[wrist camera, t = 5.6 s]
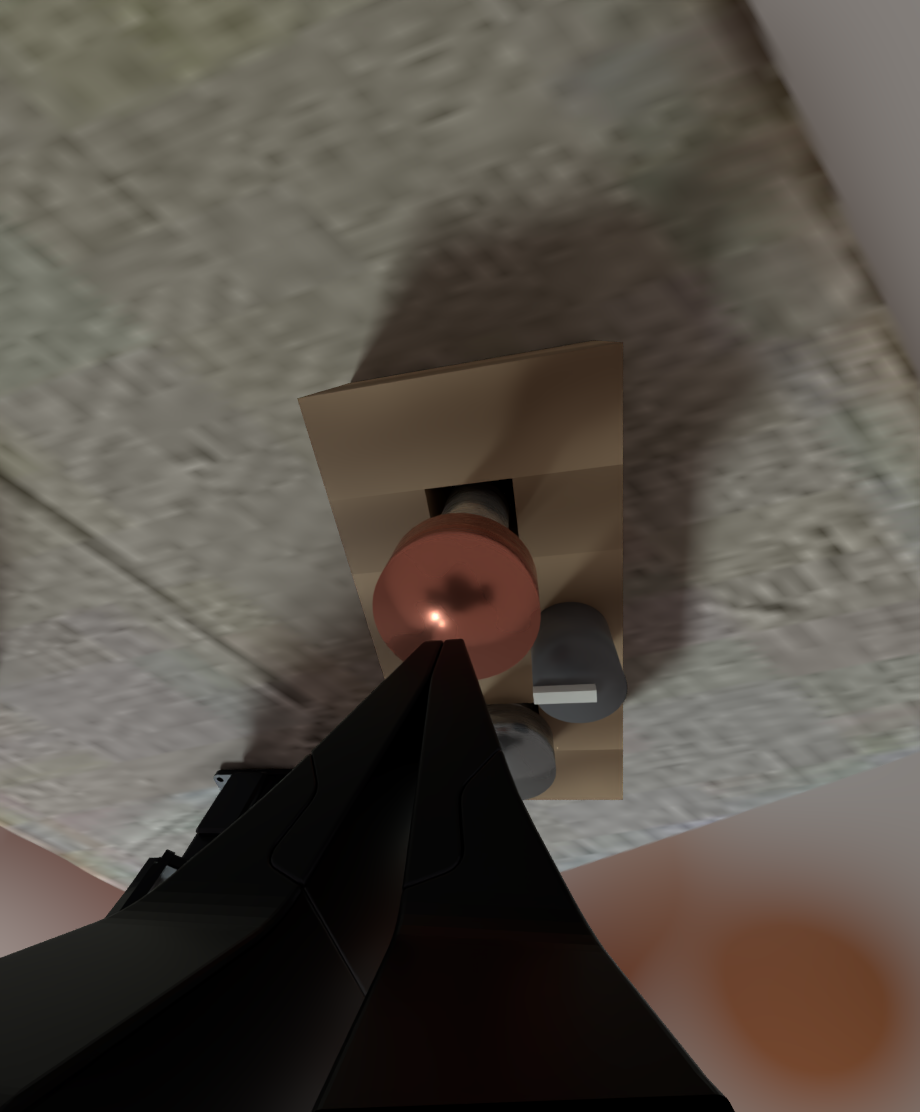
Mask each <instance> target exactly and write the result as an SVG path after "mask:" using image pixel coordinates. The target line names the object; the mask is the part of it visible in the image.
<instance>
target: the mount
mask: <svg viewBox="0 0 920 1112" xmlns="http://www.w3.org/2000/svg"><path fill="white" fill-rule="evenodd" d="M298 402H299V405H300V409H301V412H302V415H303V418H304V421H305V425H306V428H307V431H308V434H309V438H310V441H311V444H312V447H313V450H314V454H315V457H316V460H317V463H318V467H319V470H320V473H321V476H322V479H323V483H324V486H325V489H326V492H327V496H328V499H329V502H330V505H331V508H332V512H333V515H334V518H335V521H336V525H337V528H338V531H339V534H340V537H341V541H342V544H343V547H344V550H345V553H346V557H347V560H348V563H349V566H350V570H351V573H352V576H353V579H354V582H355V586H356V589H357V592H358V595H359V599H360V602H361V605H362V608H363V611H364V615H365V618H366V621H367V624H368V628H369V631H370V634H371V637H372V640H373V644H374V647H375V650H376V653H377V656H378V660H379V663H380V666H381V669H382V673H383V676H384V679H386V678H387V677H388V676H389V675H390V674H391V673H392V672H393V671H394V670H395V669H396V668H397V667H398V666H399V665H400V664H401V663H402V662H403V661H402V660H401V659H400V658H399V657H397V656H396V655H395V654H394V653H393V652H392V651H391V650H390V648H389V647H388V646H387V645H386V643H385V642H384V641H383V639H382V637H381V635H380V634H379V632H378V629H377V627H376V624H375V621H374V616H373V607H372V602H373V594H374V590H375V586H376V584H377V581H378V579H379V577H380V575H381V573H382V571H383V570H384V568H385V566H386V564H387V562H388V561H389V559H390V557H391V555H392V553H393V552H394V550H395V548H396V546H397V545H398V543H399V542H400V540H401V539H402V538H403V537H404V535H405V534H406V533H407V532H408V531H410V530H411V529H412V528H413V527H415V526H416V525H418V524H419V523H421V522H423V521H425V520H427V519H429V518H432V517H435V516H438V515H441V514H442V512H443V509H444V507H445V504H446V502H447V499H448V497H449V495H450V493H451V491H452V490H451V486H454V485H462V484H470V483H478V482H486V481H494V480H501V479H509V478H512V481H513V490H514V498H515V507H516V510H509V525H508V529H509V530H511V531H512V532H513V533H514V534H515V535H517V536H518V538H519V539H520V540H521V541H522V542H523V543H524V545H525V546H526V547H527V549H528V550H529V552H530V554H531V556H532V558H533V561H534V564H535V567H536V572H537V579H538V590H539V600H540V611H541V612H542V611H543V610H545V609H546V608H548V607H550V606H552V605H555V604H558V603H563V602H579V603H583V604H587V605H589V606H591V607H593V608H595V609H596V610H598V611H599V612H600V613H601V614H602V615H603V616H604V618H605V619H606V621H607V623H608V626H609V629H610V632H611V635H612V638H613V642H614V645H615V648H616V651H617V654H618V657H619V660H620V663H621V666H622V669H623V342H609V341H596V340H593V341H588V342H582V343H576V344H570V345H565V346H559V347H553V348H548V349H542V350H536V351H530V352H525V353H519V354H513V355H508V356H502V357H496V358H490V359H485V360H479V361H473V362H468V363H462V364H456V365H450V366H445V367H439V368H433V369H428V370H422V371H416V372H410V373H405V374H399V375H393V376H388V377H382V378H376V379H370V380H365V381H359V382H353V383H348V384H345V385H342V386H338V387H335V388H331V389H328V390H325V391H321V392H318V393H314V394H311V395H308V396H304V397H301V398H298ZM478 682H479V685H480V687H481V690H482V693H483V696H484V699H485V702H486V704H510V703H533V711H534V712H536V713H537V714H539V715H540V716H541V717H542V718H544V719H545V721H546V722H547V723H548V724H549V726H550V728H551V730H552V734H553V742H554V752H555V763H556V777H555V780H554V782H553V783H552V785H551V786H550V787H549V788H548V789H547V790H546V791H545V792H543V793H542V794H540V795H538V796H536V797H533V798H530V799H526V800H623V703H622V705H621V706H620V707H619V708H618V709H617V710H616V711H615V712H614V713H612V714H611V715H609V716H607V717H605V718H603V719H600V720H598V721H594V722H588V723H570V722H565V721H562V720H558V719H556V718H554V717H552V716H550V715H548V714H547V713H546V712H544V711H543V710H542V709H541V708H540V706H539V705H538V704H534V698H533V678H532V659H531V649H530V650H529V652H528V653H527V654H526V655H525V656H524V657H523V659H522V660H521V661H519V662H518V663H517V664H516V665H514V666H513V667H511V668H510V669H508V670H506V671H504V672H502V673H500V674H498V675H495V676H492V677H489V678H485V679H480V680H478Z"/></svg>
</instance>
